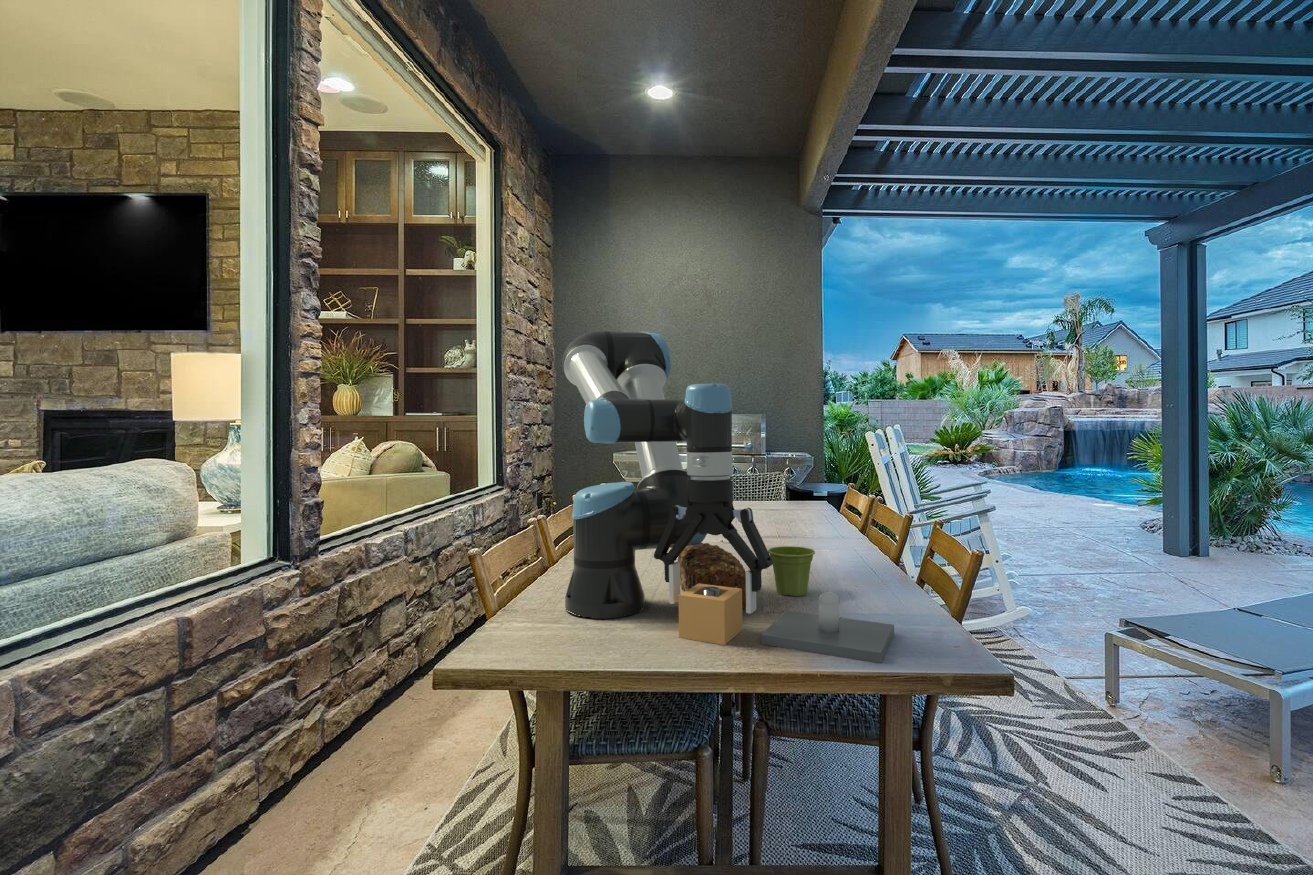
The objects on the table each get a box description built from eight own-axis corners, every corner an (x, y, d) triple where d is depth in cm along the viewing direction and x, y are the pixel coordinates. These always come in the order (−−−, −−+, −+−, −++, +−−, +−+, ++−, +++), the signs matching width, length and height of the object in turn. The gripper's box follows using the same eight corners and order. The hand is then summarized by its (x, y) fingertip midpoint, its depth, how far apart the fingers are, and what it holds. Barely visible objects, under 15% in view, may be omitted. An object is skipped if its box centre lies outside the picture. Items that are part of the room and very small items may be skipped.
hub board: (761, 643, 101) (761, 596, 100) (786, 618, 113) (786, 576, 113) (880, 663, 92) (880, 611, 92) (894, 633, 105) (894, 587, 104)
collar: (679, 637, 104) (678, 594, 104) (699, 623, 111) (698, 583, 111) (724, 645, 100) (724, 601, 100) (742, 629, 107) (742, 588, 107)
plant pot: (759, 590, 132) (758, 548, 132) (796, 584, 136) (795, 544, 136) (786, 601, 124) (786, 557, 123) (825, 595, 128) (824, 552, 127)
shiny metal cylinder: (700, 634, 105) (699, 589, 105) (706, 629, 108) (706, 585, 107) (715, 637, 104) (715, 591, 104) (722, 632, 106) (721, 587, 106)
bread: (677, 588, 135) (676, 541, 134) (726, 586, 136) (725, 539, 136) (693, 615, 116) (692, 561, 116) (750, 612, 118) (749, 558, 117)
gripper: (632, 478, 107) (635, 603, 108) (776, 481, 96) (778, 621, 96) (653, 474, 114) (656, 593, 114) (790, 477, 102) (792, 609, 103)
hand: (712, 606), depth 105 cm, fingers open, 13 cm apart
